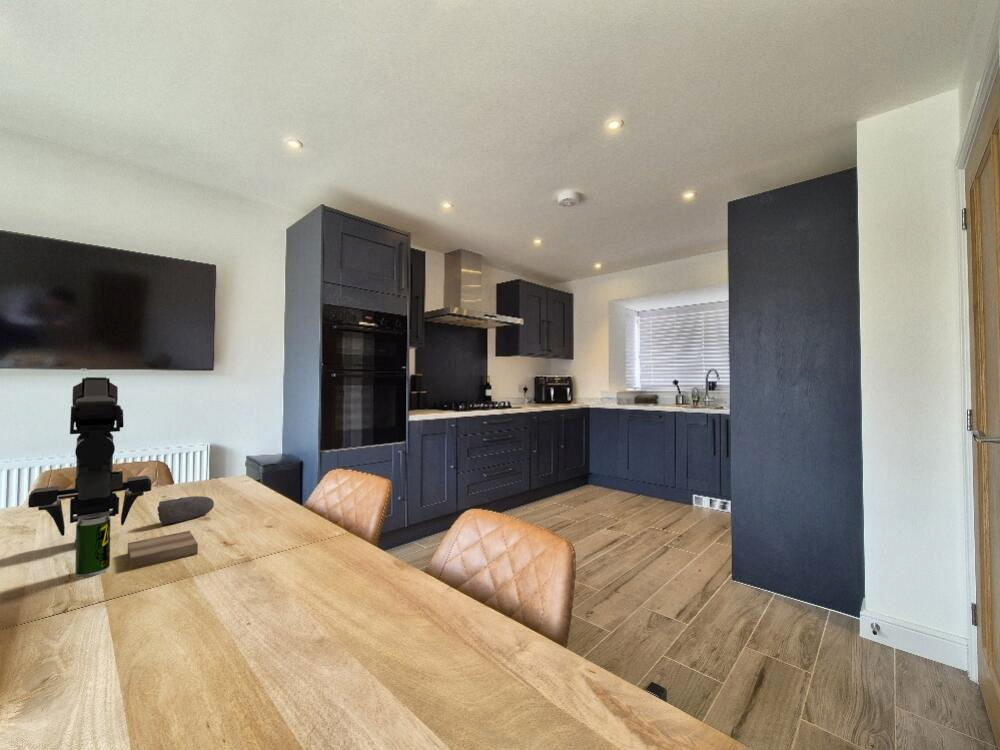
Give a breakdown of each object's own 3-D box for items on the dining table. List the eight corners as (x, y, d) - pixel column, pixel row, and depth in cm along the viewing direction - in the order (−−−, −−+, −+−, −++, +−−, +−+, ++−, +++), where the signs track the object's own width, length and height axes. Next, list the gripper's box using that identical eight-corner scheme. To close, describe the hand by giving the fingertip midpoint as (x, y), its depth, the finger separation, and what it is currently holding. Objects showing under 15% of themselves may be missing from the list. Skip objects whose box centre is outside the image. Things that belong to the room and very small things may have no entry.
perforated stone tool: (210, 511, 133) (210, 490, 133) (217, 514, 130) (218, 492, 130) (151, 525, 120) (151, 501, 120) (158, 528, 117) (159, 504, 117)
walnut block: (127, 553, 100) (127, 543, 100) (189, 540, 108) (189, 530, 108) (131, 569, 91) (131, 558, 91) (197, 553, 100) (197, 543, 100)
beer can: (71, 580, 86) (72, 522, 87) (79, 570, 91) (80, 515, 91) (106, 573, 89) (107, 517, 90) (112, 564, 94) (113, 511, 94)
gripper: (26, 470, 78) (24, 553, 78) (154, 457, 91) (153, 528, 91) (32, 461, 86) (30, 537, 86) (149, 451, 99) (148, 516, 99)
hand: (93, 529), depth 90 cm, fingers open, 9 cm apart
